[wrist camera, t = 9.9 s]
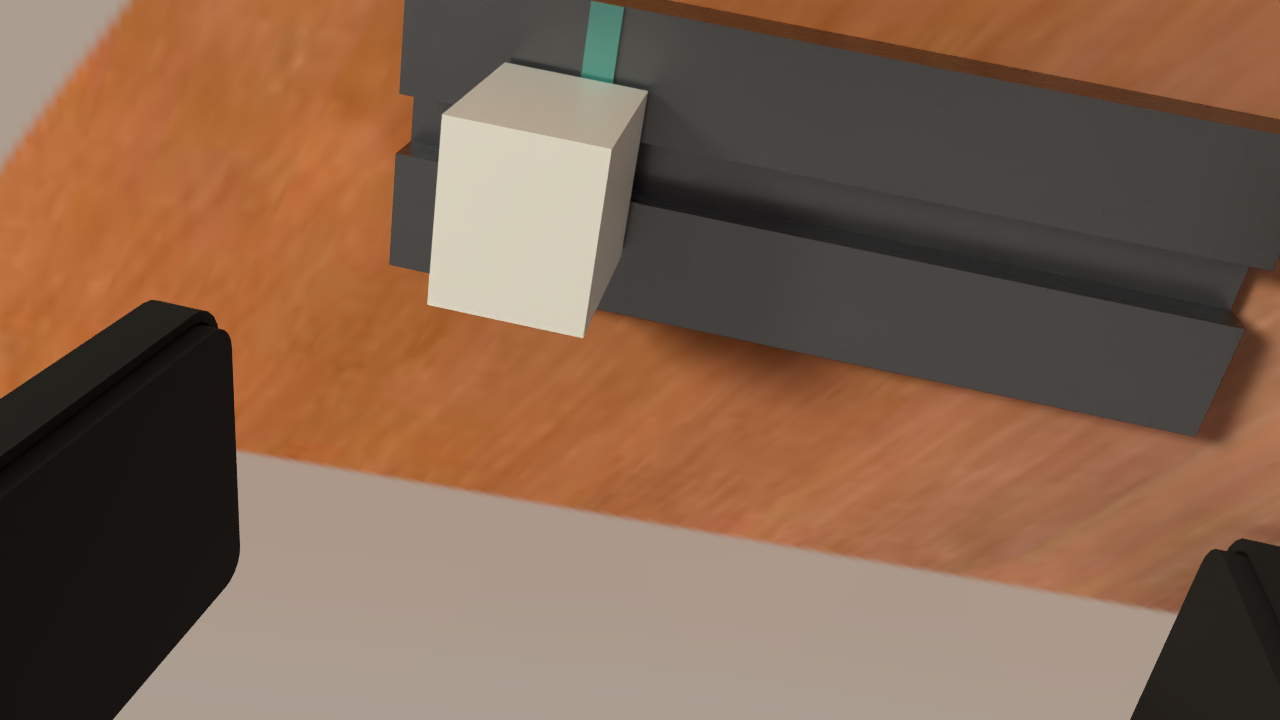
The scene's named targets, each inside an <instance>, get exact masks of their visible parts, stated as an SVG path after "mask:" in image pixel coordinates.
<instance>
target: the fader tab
mask: <svg viewBox="0 0 1280 720" xmlns="http://www.w3.org/2000/svg"><path fill="white" fill-rule="evenodd" d="M647 95H648V91H646V90H641V89H636V88H631V87H626V86H621V85H616V84H611V83H606V82H601V81H596V80H591V79H586V78H581V77H576V76H571V75H566V74H561V73H556V72H551V71H546V70H541V69H536V68H531V67H526V66H521V65H516V64H511V63H506V62H505V63H503V64H502V65H501V66H500V67H499V68H497V69H496V70H495V71H494V72H493V73H491V74H490V75H489V76H488V77H487V78H485V79H484V80H483V81H482V82H481V83H479V84H478V85H477V86H476V87H474V88H473V89H472V90H471V91H470V92H468V93H467V94H466V95H465V96H464V97H462V98H461V99H460V100H459V101H458V102H456V103H455V104H454V105H453V106H452V107H450V108H449V109H448V110H447V111H446V112H444V113H443V114H442V121H441V134H440V147H439V160H438V173H437V186H436V198H435V211H434V224H433V237H432V250H431V263H430V276H429V289H428V302H427V305H431V306H436V307H441V308H445V309H450V310H455V311H459V312H464V313H468V314H473V315H478V316H482V317H487V318H492V319H496V320H501V321H506V322H510V323H515V324H519V325H524V326H529V327H533V328H538V329H543V330H547V331H552V332H557V333H561V334H566V335H571V336H575V337H580V338H583V337H584V335H585V333H586V331H587V329H588V327H589V324H590V322H591V320H592V318H593V316H594V314H595V311H596V309H597V307H598V305H599V303H600V301H601V298H602V296H603V294H604V292H605V290H606V288H607V285H608V283H609V281H610V279H611V277H612V275H613V273H614V270H615V268H616V266H617V264H618V262H619V260H620V257H621V254H622V248H623V242H624V235H625V229H626V223H627V217H628V211H629V205H630V199H631V193H632V186H633V180H634V174H635V168H636V162H637V156H638V150H639V144H640V138H641V131H642V125H643V119H644V113H645V107H646V101H647Z"/></svg>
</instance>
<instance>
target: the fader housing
mask: <svg viewBox="0 0 1280 720" xmlns="http://www.w3.org/2000/svg"><path fill="white" fill-rule="evenodd" d="M505 62H506V63H511V64H516V65H521V66H526V67H531V68H536V69H541V70H546V71H551V72H556V73H561V74H566V75H571V76H576V77H581V78H586V79H591V80H596V81H601V82H606V83H611V84H616V85H621V86H626V87H631V88H636V89H641V90H646V91H648V95H647V101H646V107H645V113H644V119H643V125H642V131H641V138H640V144H639V150H638V156H637V162H636V168H635V174H634V180H633V186H632V193H631V199H630V205H629V211H628V217H627V223H626V229H625V235H624V242H623V248H622V254H621V257H620V260H619V262H618V264H617V266H616V268H615V270H614V273H613V275H612V277H611V279H610V281H609V283H608V285H607V288H606V290H605V292H604V294H603V296H602V298H601V301H600V303H599V305H598V307H597V309H599V310H604V311H608V312H613V313H618V314H622V315H627V316H632V317H636V318H641V319H646V320H650V321H655V322H660V323H664V324H669V325H674V326H678V327H683V328H688V329H693V330H697V331H702V332H707V333H711V334H716V335H721V336H725V337H730V338H735V339H739V340H744V341H749V342H753V343H758V344H763V345H767V346H772V347H777V348H781V349H786V350H791V351H795V352H800V353H805V354H810V355H814V356H819V357H824V358H828V359H833V360H838V361H842V362H847V363H852V364H856V365H861V366H866V367H870V368H875V369H880V370H884V371H889V372H894V373H898V374H903V375H908V376H912V377H917V378H922V379H927V380H931V381H936V382H941V383H945V384H950V385H955V386H959V387H964V388H969V389H973V390H978V391H983V392H987V393H992V394H997V395H1001V396H1006V397H1011V398H1015V399H1020V400H1025V401H1029V402H1034V403H1039V404H1044V405H1048V406H1053V407H1058V408H1062V409H1067V410H1072V411H1076V412H1081V413H1086V414H1090V415H1095V416H1100V417H1104V418H1109V419H1114V420H1118V421H1123V422H1128V423H1132V424H1137V425H1142V426H1146V427H1151V428H1156V429H1161V430H1165V431H1170V432H1175V433H1179V434H1184V435H1189V436H1193V437H1196V435H1197V432H1198V430H1199V428H1200V426H1201V424H1202V422H1203V419H1204V417H1205V415H1206V413H1207V411H1208V409H1209V406H1210V404H1211V402H1212V400H1213V398H1214V396H1215V393H1216V391H1217V389H1218V387H1219V385H1220V383H1221V380H1222V378H1223V376H1224V374H1225V372H1226V370H1227V367H1228V365H1229V363H1230V361H1231V359H1232V357H1233V354H1234V352H1235V350H1236V348H1237V346H1238V344H1239V341H1240V339H1241V337H1242V335H1243V333H1244V331H1245V329H1244V327H1243V326H1242V325H1241V323H1240V322H1239V321H1238V319H1237V318H1236V317H1235V315H1234V314H1233V313H1232V311H1231V310H1230V309H1231V307H1232V305H1233V303H1234V301H1235V298H1236V296H1237V294H1238V292H1239V289H1240V287H1241V285H1242V283H1243V281H1244V278H1245V276H1246V274H1247V272H1248V270H1249V267H1254V268H1259V269H1264V270H1269V271H1272V270H1273V268H1274V266H1275V263H1276V261H1277V259H1278V257H1279V255H1280V120H1279V119H1274V118H1269V117H1264V116H1258V115H1253V114H1248V113H1243V112H1238V111H1233V110H1228V109H1222V108H1217V107H1212V106H1207V105H1202V104H1197V103H1192V102H1187V101H1181V100H1176V99H1171V98H1166V97H1161V96H1156V95H1151V94H1145V93H1140V92H1135V91H1130V90H1125V89H1120V88H1115V87H1110V86H1104V85H1099V84H1094V83H1089V82H1084V81H1079V80H1074V79H1069V78H1063V77H1058V76H1053V75H1048V74H1043V73H1038V72H1033V71H1027V70H1022V69H1017V68H1012V67H1007V66H1002V65H997V64H992V63H986V62H981V61H976V60H971V59H966V58H961V57H956V56H951V55H945V54H940V53H935V52H930V51H925V50H920V49H915V48H909V47H904V46H899V45H894V44H889V43H884V42H879V41H874V40H868V39H863V38H858V37H853V36H848V35H843V34H838V33H832V32H827V31H822V30H817V29H812V28H807V27H802V26H797V25H791V24H786V23H781V22H776V21H771V20H766V19H761V18H756V17H750V16H745V15H740V14H735V13H730V12H725V11H720V10H714V9H709V8H704V7H699V6H694V5H689V4H684V3H679V2H673V1H668V0H405V7H404V24H403V41H402V58H401V75H400V92H399V94H404V95H409V96H414V105H413V120H412V135H411V141H410V142H409V143H408V144H407V145H406V146H404V147H403V148H402V149H401V150H400V151H398V152H397V153H396V160H395V177H394V194H393V211H392V228H391V245H390V262H389V265H393V266H398V267H402V268H407V269H412V270H416V271H421V272H426V273H430V263H431V250H432V237H433V224H434V211H435V198H436V186H437V173H438V160H439V147H440V134H441V121H442V114H443V113H444V112H446V111H447V110H448V109H449V108H450V107H452V106H453V105H454V104H455V103H456V102H458V101H459V100H460V99H461V98H462V97H464V96H465V95H466V94H467V93H468V92H470V91H471V90H472V89H473V88H474V87H476V86H477V85H478V84H479V83H481V82H482V81H483V80H484V79H485V78H487V77H488V76H489V75H490V74H491V73H493V72H494V71H495V70H496V69H497V68H499V67H500V66H501V65H502V64H503V63H505Z"/></svg>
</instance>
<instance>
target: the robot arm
mask: <svg viewBox="0 0 1280 720" xmlns="http://www.w3.org/2000/svg"><path fill="white" fill-rule="evenodd" d="M238 514H239V512H238V488H237V464H236V439H235V414H234V390H233V365H232V345H231V339H230V337H229V335H228V333H227V332H226V331H225V330H222V329H218V325H217V323H216V320H215V318H214V316H213V315H211V314H210V313H209V312H207V311H203V310H198V309H194V308H189V307H185V306H180V305H175V304H171V303H166V302H162V301H156V300H150V301H148V302H145V303H143V304H142V305H140V306H139V307H137V308H136V309H134V310H133V311H131V312H130V313H128V314H127V315H125V316H124V317H122V318H121V319H119V320H118V321H116V322H115V323H113V324H112V325H110V326H109V327H107V328H106V329H104V330H103V331H101V332H100V333H98V334H97V335H95V336H94V337H92V338H91V339H89V340H88V341H86V342H85V343H83V344H82V345H80V346H79V347H77V348H76V349H74V350H73V351H71V352H70V353H68V354H67V355H65V356H64V357H62V358H61V359H59V360H58V361H56V362H55V363H53V364H52V365H50V366H49V367H47V368H46V369H44V370H43V371H41V372H40V373H38V374H37V375H35V376H34V377H32V378H31V379H29V380H28V381H26V382H25V383H24V384H22V385H21V386H19V387H18V388H16V389H15V390H13V391H12V392H10V393H9V394H7V395H6V396H4V397H3V398H1V399H0V720H113V719H114V717H115V716H116V715H117V714H118V713H119V712H120V710H121V709H122V708H123V707H124V706H125V705H126V703H127V702H128V701H129V700H130V699H131V697H132V696H133V695H134V694H135V693H136V692H137V690H138V689H139V688H140V687H141V686H142V685H143V683H144V682H145V681H146V680H147V679H148V677H149V676H150V675H151V674H152V673H153V672H154V671H155V669H156V668H157V667H158V666H159V665H160V663H161V662H162V661H163V660H164V659H165V658H166V656H167V655H168V654H169V653H170V651H172V649H173V648H174V647H175V646H176V645H177V643H178V642H179V641H180V640H181V639H182V638H183V636H184V635H185V634H186V633H187V632H188V631H189V629H190V628H191V627H192V626H193V625H194V623H195V622H196V621H197V620H198V619H199V618H200V617H201V615H202V614H203V613H204V612H205V611H206V609H207V608H208V607H209V606H210V605H211V604H212V602H213V601H214V600H215V599H216V598H217V597H218V595H219V594H220V593H221V592H222V591H223V589H224V588H225V587H226V586H227V584H228V583H229V582H230V580H231V578H232V576H233V574H234V572H235V569H236V566H237V563H238V559H239V554H240V539H239V538H240V537H239V515H238ZM1130 720H1280V547H1279V546H1275V545H1270V544H1266V543H1261V542H1256V541H1252V540H1247V539H1243V538H1242V539H1240V540H1237V541H1235V542H1234V543H1233V544H1232V545H1231V546H1230V547H1229V548H1228V550H1227V551H1222V550H1218V549H1214V550H1211V551H1210V552H1209V553H1208V554H1207V555H1206V556H1205V558H1204V560H1203V562H1202V563H1201V565H1200V568H1199V570H1198V572H1197V574H1196V576H1195V579H1194V581H1193V583H1192V585H1191V587H1190V590H1189V592H1188V594H1187V596H1186V598H1185V601H1184V603H1183V605H1182V607H1181V609H1180V612H1179V614H1178V616H1177V618H1176V620H1175V623H1174V625H1173V627H1172V629H1171V631H1170V633H1169V636H1168V638H1167V640H1166V642H1165V644H1164V647H1163V649H1162V651H1161V653H1160V656H1159V658H1158V660H1157V662H1156V664H1155V666H1154V669H1153V671H1152V673H1151V675H1150V677H1149V680H1148V682H1147V684H1146V686H1145V689H1144V691H1143V693H1142V695H1141V697H1140V699H1139V702H1138V704H1137V706H1136V708H1135V710H1134V712H1133V715H1132V717H1131V719H1130Z"/></svg>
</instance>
